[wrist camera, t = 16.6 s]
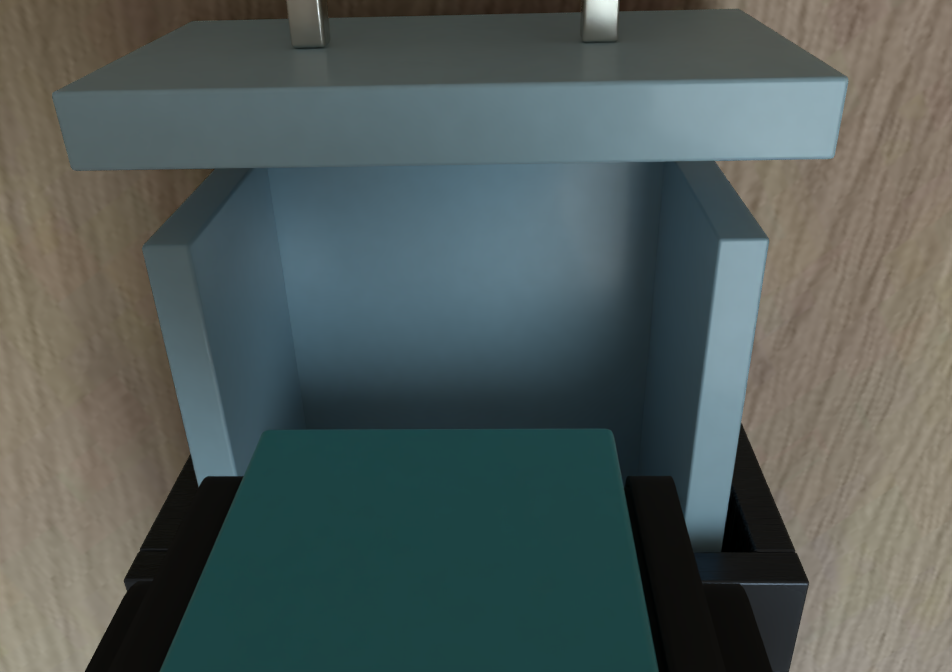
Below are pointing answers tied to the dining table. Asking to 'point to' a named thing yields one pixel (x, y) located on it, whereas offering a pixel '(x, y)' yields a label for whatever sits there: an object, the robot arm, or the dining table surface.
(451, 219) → the drawer
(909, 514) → the dining table surface
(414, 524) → the teal block
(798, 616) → the small black cabinet
